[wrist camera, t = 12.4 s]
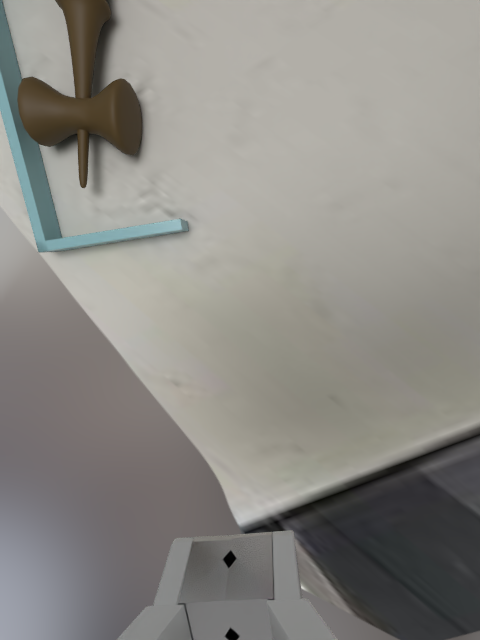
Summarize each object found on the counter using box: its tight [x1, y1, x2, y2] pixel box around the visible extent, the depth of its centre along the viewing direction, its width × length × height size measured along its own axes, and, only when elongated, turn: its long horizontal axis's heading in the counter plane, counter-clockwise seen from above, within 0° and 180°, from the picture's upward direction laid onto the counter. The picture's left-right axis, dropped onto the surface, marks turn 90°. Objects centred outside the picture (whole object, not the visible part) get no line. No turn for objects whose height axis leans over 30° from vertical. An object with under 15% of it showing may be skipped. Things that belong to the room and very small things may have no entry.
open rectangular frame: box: [0, 0, 189, 252], centre depth 32 cm, size 15×26×3 cm, turn 9°
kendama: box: [17, 0, 142, 188], centre depth 30 cm, size 6×10×20 cm
